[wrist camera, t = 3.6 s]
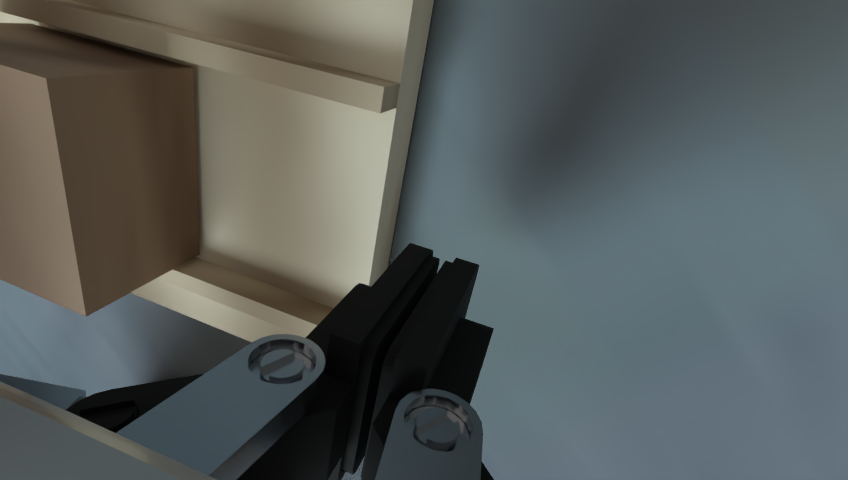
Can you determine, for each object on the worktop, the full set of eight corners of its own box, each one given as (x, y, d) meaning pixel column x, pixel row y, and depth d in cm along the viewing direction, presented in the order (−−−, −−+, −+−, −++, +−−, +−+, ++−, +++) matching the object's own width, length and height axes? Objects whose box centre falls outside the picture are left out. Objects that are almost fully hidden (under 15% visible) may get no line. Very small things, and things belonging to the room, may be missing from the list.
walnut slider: (193, 67, 13) (46, 77, 10) (199, 254, 16) (86, 316, 12) (30, 23, 14) (-152, 19, 11) (61, 203, 17) (-77, 246, 14)
